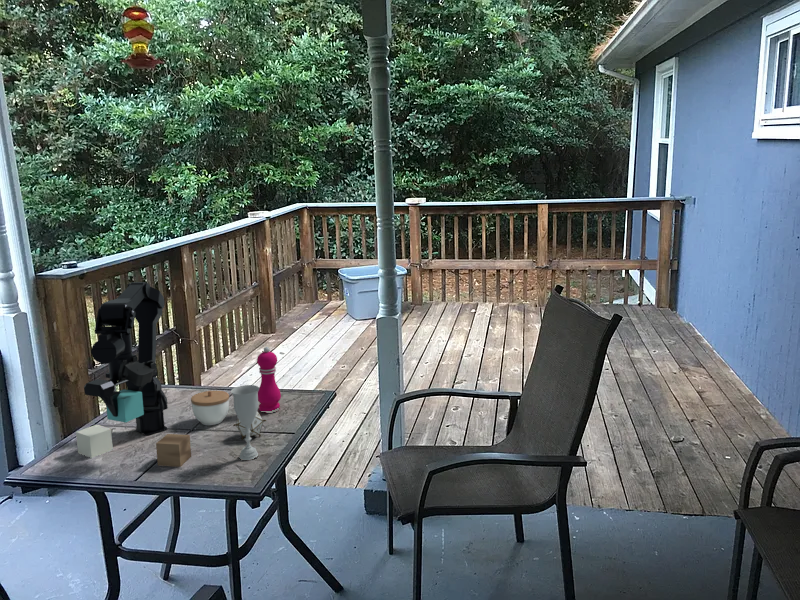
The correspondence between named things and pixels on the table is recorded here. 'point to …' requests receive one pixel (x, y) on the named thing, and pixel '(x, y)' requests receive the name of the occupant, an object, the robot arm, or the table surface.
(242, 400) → the chalice
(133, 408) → the teal block
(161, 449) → the walnut block
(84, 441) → the cream block
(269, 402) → the pepper mill
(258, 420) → the game die
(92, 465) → the table surface
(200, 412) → the lidded jar
